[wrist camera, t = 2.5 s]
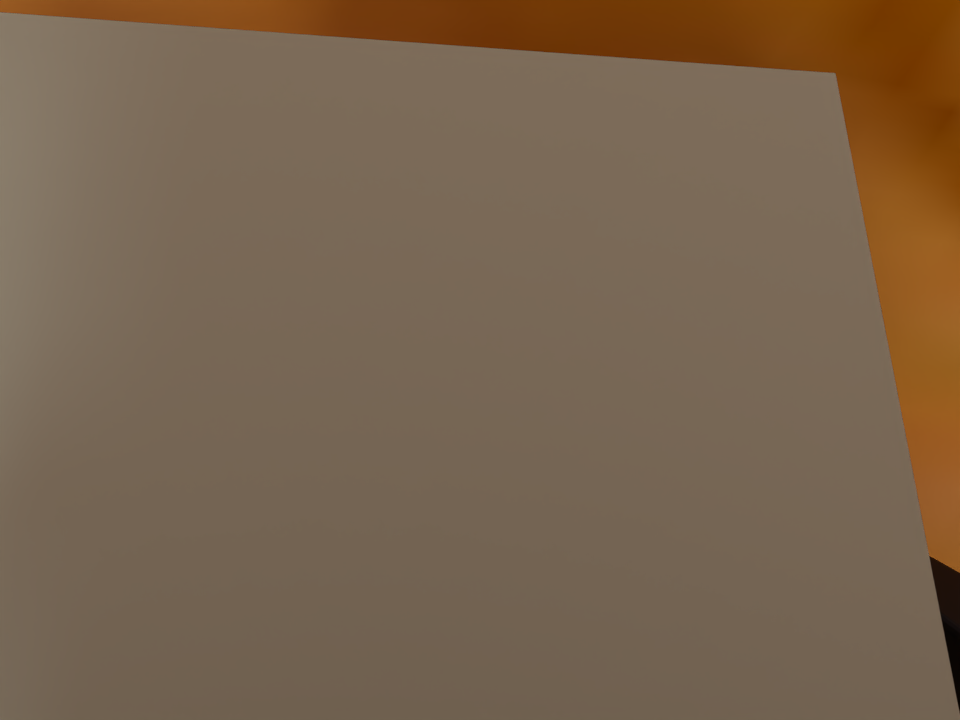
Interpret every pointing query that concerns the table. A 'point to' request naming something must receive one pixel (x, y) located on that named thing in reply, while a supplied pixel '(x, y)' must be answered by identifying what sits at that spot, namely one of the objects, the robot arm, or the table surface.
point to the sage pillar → (442, 389)
